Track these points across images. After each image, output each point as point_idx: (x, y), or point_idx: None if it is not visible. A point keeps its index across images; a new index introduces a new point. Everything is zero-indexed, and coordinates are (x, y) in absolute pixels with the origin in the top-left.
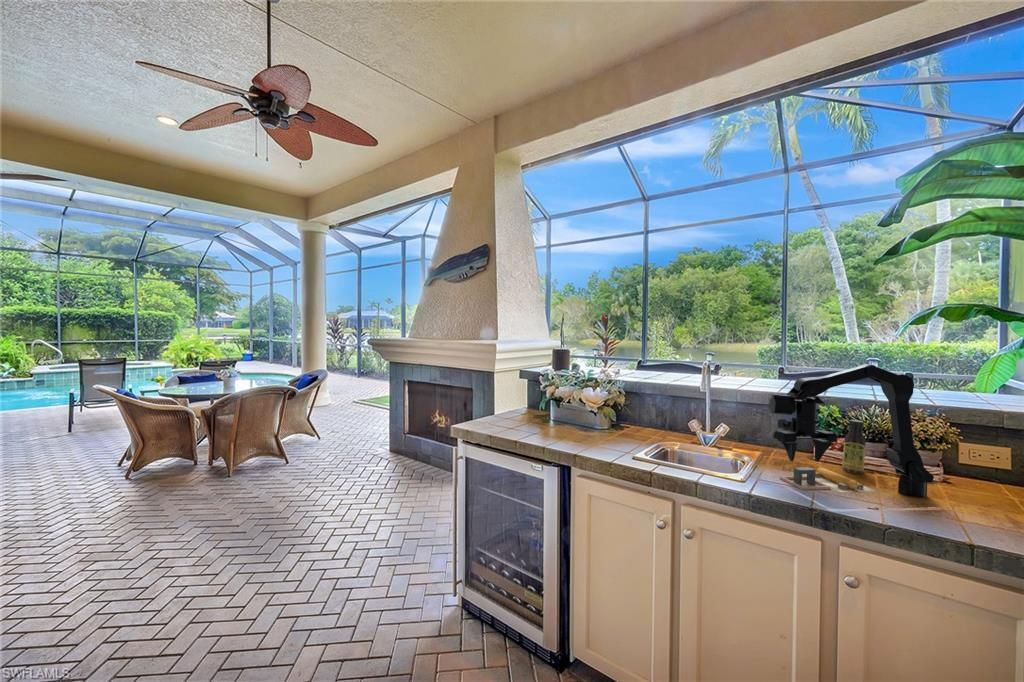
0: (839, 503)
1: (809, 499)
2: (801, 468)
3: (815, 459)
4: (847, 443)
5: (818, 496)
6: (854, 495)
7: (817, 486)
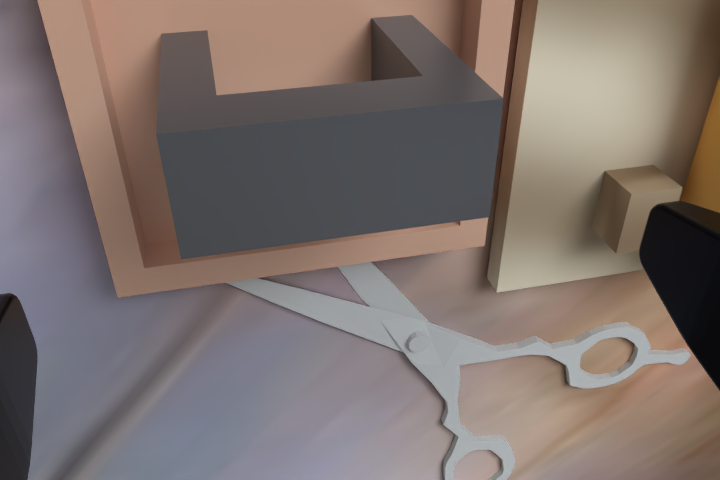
0: (307, 443)
1: (85, 418)
2: (288, 169)
3: (666, 218)
4: None
5: (231, 344)
6: (597, 278)
7: (336, 255)
